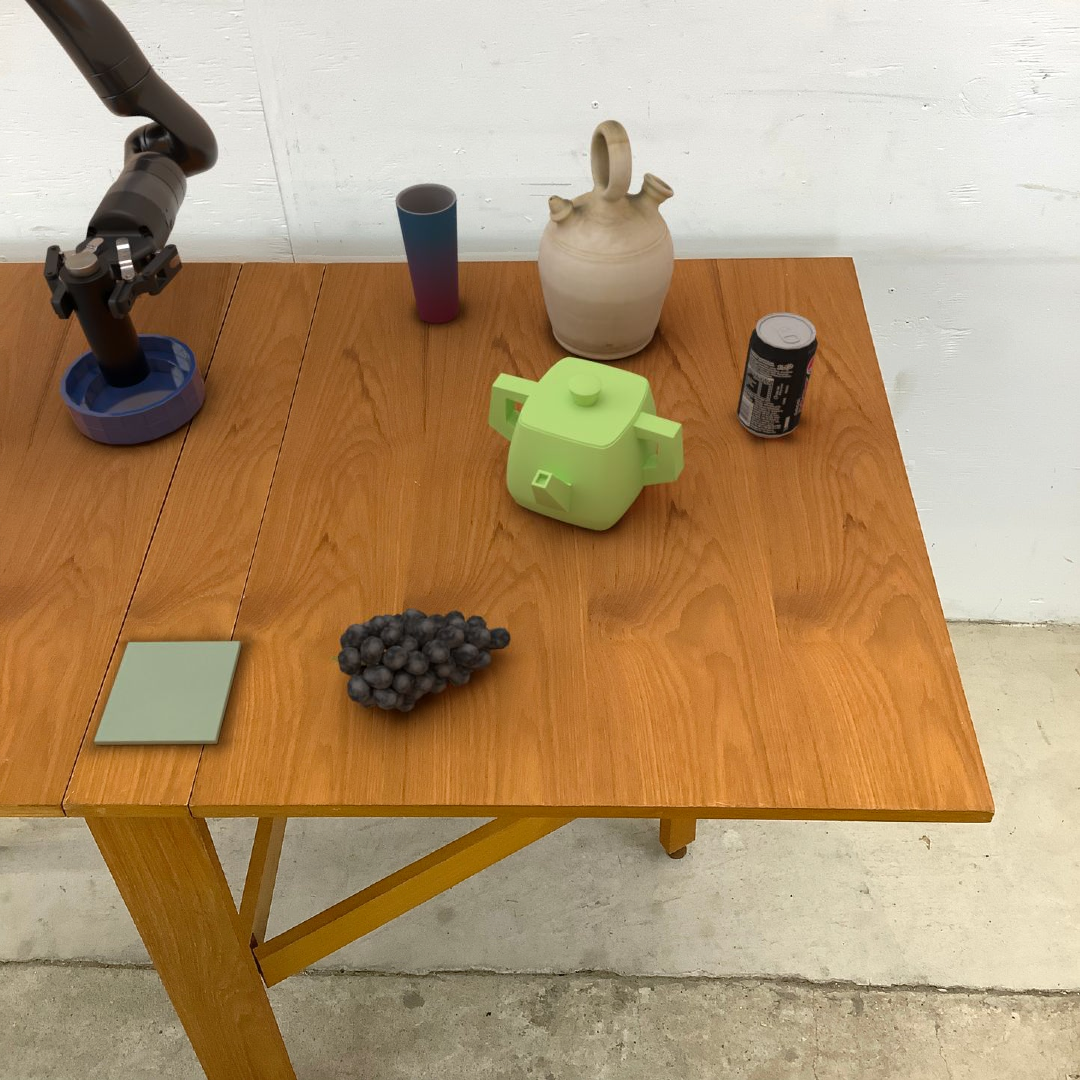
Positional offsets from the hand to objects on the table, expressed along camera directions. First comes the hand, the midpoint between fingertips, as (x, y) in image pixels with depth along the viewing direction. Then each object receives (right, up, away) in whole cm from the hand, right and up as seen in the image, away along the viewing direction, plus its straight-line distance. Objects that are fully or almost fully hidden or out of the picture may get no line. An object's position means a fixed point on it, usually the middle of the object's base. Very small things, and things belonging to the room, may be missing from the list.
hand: (87, 311), depth 97 cm
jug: (+52, +3, +21) cm, 56 cm away
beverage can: (+69, -10, +9) cm, 71 cm away
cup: (+32, +5, +24) cm, 40 cm away
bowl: (0, -8, +12) cm, 15 cm away
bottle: (0, -5, +9) cm, 10 cm away
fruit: (+35, -35, -13) cm, 51 cm away
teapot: (+48, -18, +2) cm, 52 cm away
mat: (+13, -36, -13) cm, 40 cm away
